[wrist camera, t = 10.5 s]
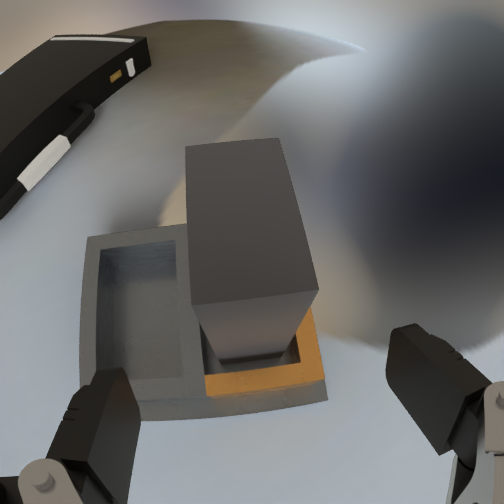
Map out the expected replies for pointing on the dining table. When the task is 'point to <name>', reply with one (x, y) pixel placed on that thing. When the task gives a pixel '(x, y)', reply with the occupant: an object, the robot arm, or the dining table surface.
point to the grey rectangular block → (246, 249)
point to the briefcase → (57, 102)
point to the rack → (177, 336)
